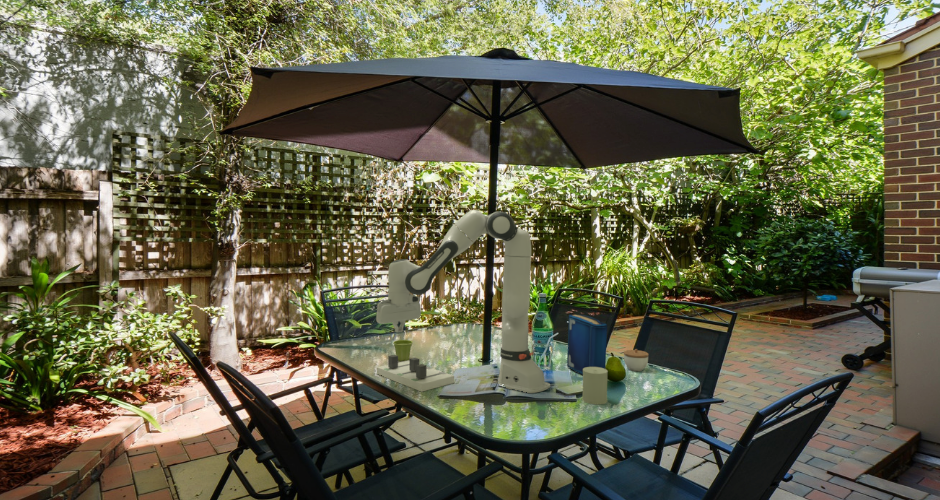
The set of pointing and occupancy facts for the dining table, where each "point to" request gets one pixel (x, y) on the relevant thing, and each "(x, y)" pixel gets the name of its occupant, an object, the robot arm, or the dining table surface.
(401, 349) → the plant pot
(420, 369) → the switch
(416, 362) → the middle switch
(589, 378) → the can
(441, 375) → the switch panel
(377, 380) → the dining table surface
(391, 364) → the switch
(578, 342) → the book
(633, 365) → the lidded jar
